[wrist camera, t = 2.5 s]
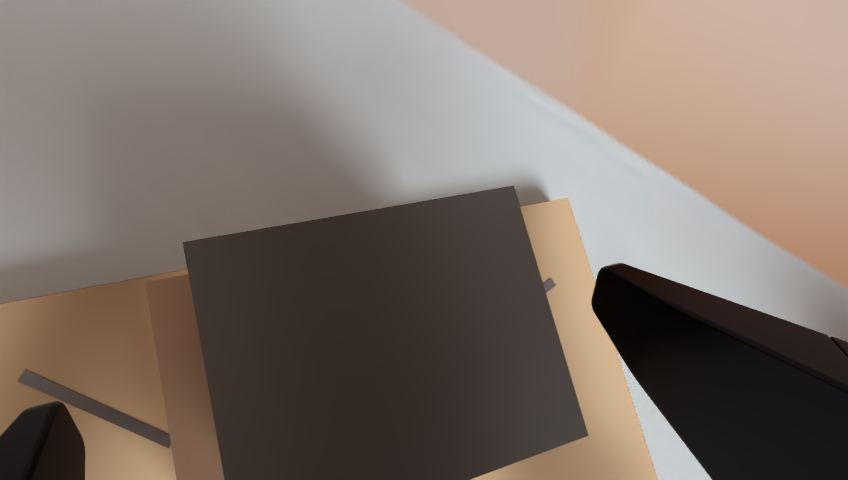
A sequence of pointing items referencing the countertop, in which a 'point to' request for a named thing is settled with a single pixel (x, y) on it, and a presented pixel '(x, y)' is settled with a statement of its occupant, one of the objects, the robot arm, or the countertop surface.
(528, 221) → the pine board
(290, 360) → the sanding block
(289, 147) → the countertop surface
